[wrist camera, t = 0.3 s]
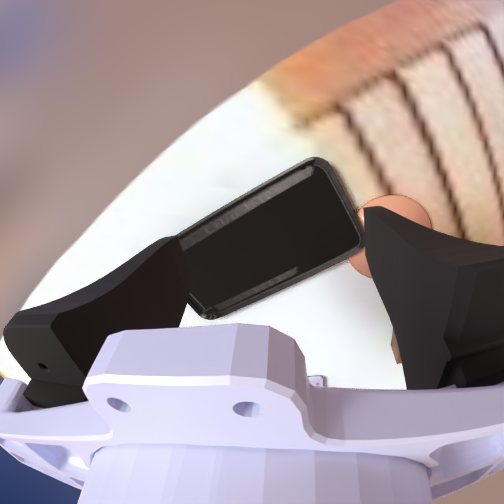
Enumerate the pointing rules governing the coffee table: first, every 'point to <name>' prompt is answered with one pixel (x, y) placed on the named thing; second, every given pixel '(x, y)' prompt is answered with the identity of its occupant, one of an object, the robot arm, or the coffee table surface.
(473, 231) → the coffee table surface
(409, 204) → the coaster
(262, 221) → the phone
